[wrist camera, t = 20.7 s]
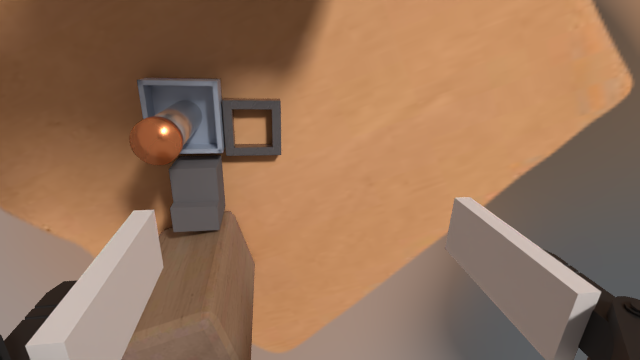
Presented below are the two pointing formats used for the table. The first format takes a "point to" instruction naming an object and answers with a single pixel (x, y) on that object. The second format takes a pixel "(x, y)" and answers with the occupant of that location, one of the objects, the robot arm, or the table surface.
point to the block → (199, 298)
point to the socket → (251, 149)
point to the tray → (199, 91)
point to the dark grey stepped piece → (197, 193)
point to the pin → (165, 133)
